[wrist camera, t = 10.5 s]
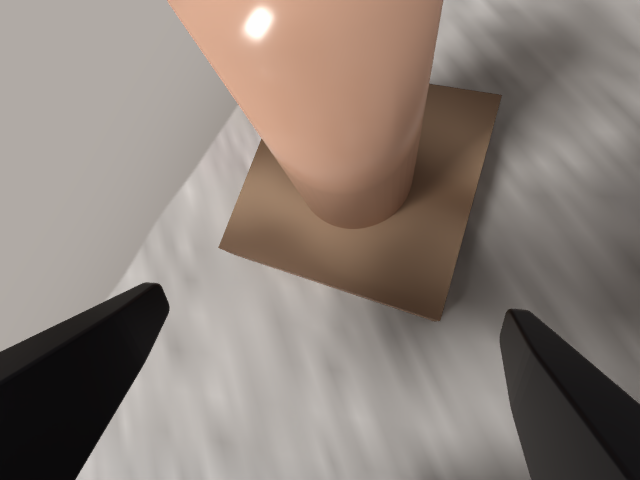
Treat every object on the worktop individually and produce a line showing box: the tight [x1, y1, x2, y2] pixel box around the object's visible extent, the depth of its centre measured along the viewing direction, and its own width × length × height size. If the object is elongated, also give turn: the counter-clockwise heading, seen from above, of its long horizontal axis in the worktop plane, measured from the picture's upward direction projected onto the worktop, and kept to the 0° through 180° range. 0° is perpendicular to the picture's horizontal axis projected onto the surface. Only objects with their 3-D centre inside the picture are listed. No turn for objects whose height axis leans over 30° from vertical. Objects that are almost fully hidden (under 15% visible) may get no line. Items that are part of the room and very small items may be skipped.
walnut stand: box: [219, 84, 502, 321], centre depth 19 cm, size 12×12×2 cm
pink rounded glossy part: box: [167, 0, 443, 229], centre depth 12 cm, size 6×6×12 cm
